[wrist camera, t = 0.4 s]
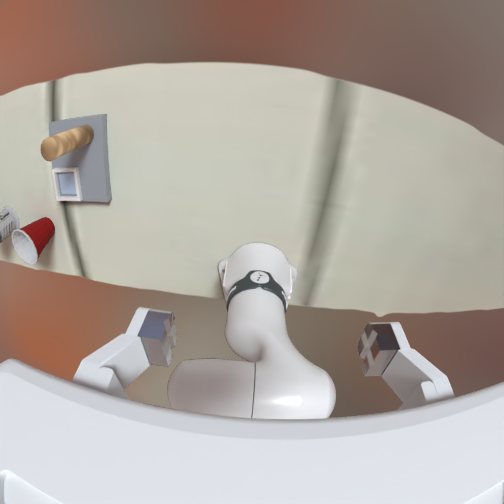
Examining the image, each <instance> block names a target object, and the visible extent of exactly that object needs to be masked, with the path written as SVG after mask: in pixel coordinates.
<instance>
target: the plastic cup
mask: <svg viewBox="0 0 504 504" xmlns="http://www.w3.org/2000/svg"><path fill="white" fill-rule="evenodd" d="M54 231H55V228H54V224H53V222H52V221H51V220H50V219H49V218H46V217H45V218H41V219H39V220H37V221H35V222H33V223H31V224H29V225H27V226H25V227H23V228H21V229H17V230H14V231H13V233H12V242H13V246H14V248H15V250H16V252H17V254H18V255H19V256H20V258H21V259H22V260H23V261H24V262H26V263H27V264H29V265H35V263H36V262H37V259H38V257H39V255H40V254H41V252H42V250H43V249H44V247H45V246H46V244H47V243H48V242H49V240H50V238H51V237H52V235H53V234H54Z"/></svg>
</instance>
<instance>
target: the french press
mask: <svg viewBox="0 0 504 504" xmlns="http://www.w3.org/2000/svg"><path fill="white" fill-rule="evenodd" d="M0 219H1V221H0V243H1V242H2V241H3V240H5V238H7V236H9V235H10V234H11V233H13V231H14V230H17V229H19V227H20V223H19V219H18V216H17V214H16V212H15V211H14V210H13V208H11V207H10V206H5V207H3V210H2V212H1V213H0Z"/></svg>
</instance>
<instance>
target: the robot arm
mask: <svg viewBox="0 0 504 504" xmlns="http://www.w3.org/2000/svg"><path fill="white" fill-rule="evenodd" d="M218 269H219V273H220V278H221V283H222V288H223V292H224V297H225V302H226V305H227V312H228V314H227V320H226V327H225V338H226V341H227V343H228V345H229V346H230V348H231V349H232V350H233V352H235V354H237V355H238V356H240V357H241V358H243V359H245V360H247V361H248V362H246V361H235V360H225V359H216V358H206V359H190V360H184V361H182V362H181V363H180V364H179V365H178V366H176V368H175V369H174V370H173V372H172V373H171V375H170V378H169V381H168V387H167V393H168V398H169V402H170V405H171V407H172V409H170V408H165V407H159V406H155V405H150V404H146V403H141V402H137V401H133V400H130V399H129V398H128V396H127V394H126V393H125V391H124V389H125V388H126V387H127V386H128V385H130V384H131V383H132V382H133V381H134V380H135V379H136V378H137V377H138V376H139V375H140V374H141V373H142V372H144V371H145V370H146V369H147V368H148V367H149V366H150V364H151V365H157V366H164V367H169V365H170V361H171V358H172V351H171V349H172V348H174V347H175V344H176V339H177V327H176V325H175V324H174V323H173V322H174V319H175V317H174V313H173V312H170V311H163V310H156V309H149V308H142V307H139V308H138V309H137V311H136V313H135V315H134V317H133V319H132V321H131V323H130V325H129V328H128V329H127V331H126V333H125V334H121V335H120V336H118V337H117V338H115V339H113V340H112V341H110V342H109V343H108V344H106V345H104V346H103V347H101V348H100V349H98V350H97V351H95V352H94V353H92V354H91V355H89V356H88V357H86V358H85V359H83V360H82V362H81V364H80V366H79V368H78V370H77V372H76V374H75V376H74V378H73V380H72V382H69V381H66V380H63V379H61V378H58V377H56V376H53V375H50V374H48V373H45V372H43V371H41V370H38V369H36V368H34V367H31V366H29V365H27V364H25V363H22V362H20V361H18V360H16V359H8V360H6V361H4V362H2V363H1V364H0V504H504V382H502V383H499V384H496V385H494V386H491V387H488V388H485V389H482V390H479V391H476V392H473V393H470V394H467V395H463V396H460V397H457V398H455V396H454V393H453V391H452V388H451V385H450V383H449V380H448V378H447V376H445V375H444V374H443V373H442V372H441V371H439V370H438V369H437V368H436V367H435V366H433V365H432V364H431V363H430V362H429V361H427V360H426V359H425V358H424V357H423V356H421V355H420V354H419V353H418V352H417V351H415V350H414V349H411V348H410V346H409V343H408V341H407V339H406V336H405V334H404V332H403V329H402V327H401V325H400V323H399V322H389V323H387V322H385V323H368V324H367V325H366V326H365V328H364V330H365V333H364V334H363V335H362V336H361V337H360V340H359V344H358V352H359V356H360V357H361V358H362V359H363V360H364V361H363V363H362V368H363V372H364V376H380V375H382V376H381V377H382V378H383V379H384V380H385V381H386V382H387V384H388V385H389V386H390V387H391V388H392V389H393V390H394V392H395V393H396V394H397V395H398V396H399V397H400V399H401V400H402V401H403V402H404V404H403V405H402V406H401V407H400V408H399V409H398V410H397V411H392V412H385V413H378V414H370V415H362V416H351V417H340V418H328V417H329V415H330V414H331V412H332V410H333V408H334V405H335V399H336V392H335V386H334V383H333V381H332V379H331V378H330V376H329V375H328V373H327V372H326V371H325V370H323V369H321V368H319V367H317V366H315V365H314V364H312V363H311V362H309V361H308V360H307V359H306V358H304V357H303V356H302V355H301V354H300V353H299V352H298V351H297V349H296V348H295V347H294V346H293V344H292V343H291V341H290V339H289V337H288V334H287V329H286V323H285V312H286V309H287V305H288V302H287V301H286V300H290V293H291V292H292V285H293V283H294V281H295V279H296V277H297V274H298V271H297V269H296V268H295V267H293V266H292V265H290V264H289V262H288V261H287V259H286V257H285V256H284V254H283V253H282V252H281V251H280V250H278V249H277V248H275V247H273V246H271V245H268V244H263V243H252V244H248V245H245V246H242V247H240V248H239V249H237V250H236V251H235V252H234V253H233V254H232V255H231V256H230V257H229V258H227V259H224V260H222V261H221V262H219V265H218ZM223 270H225V271H223ZM291 276H292V277H291Z"/></svg>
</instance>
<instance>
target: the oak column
mask: <svg viewBox="0 0 504 504" xmlns="http://www.w3.org/2000/svg"><path fill="white" fill-rule="evenodd" d="M93 138H94V131H93V129H92V127H91V126H89V125H83V126H79V127H76V128H73V129H70V130H67V131H64V132H62V133H59V134H56V135H53V136H51V137H48V138H46V139H44V140H43V142H42V144H41V154H42V156H43V158H44V159H45V160H47V161H52V160H54V159H56V158H59V157H61V156H63V155H65V154H67V153H69V152H71V151H73V150H76V149H78V148H80V147H82V146H85V145H87V144H89V143H91V142H92V140H93Z"/></svg>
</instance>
